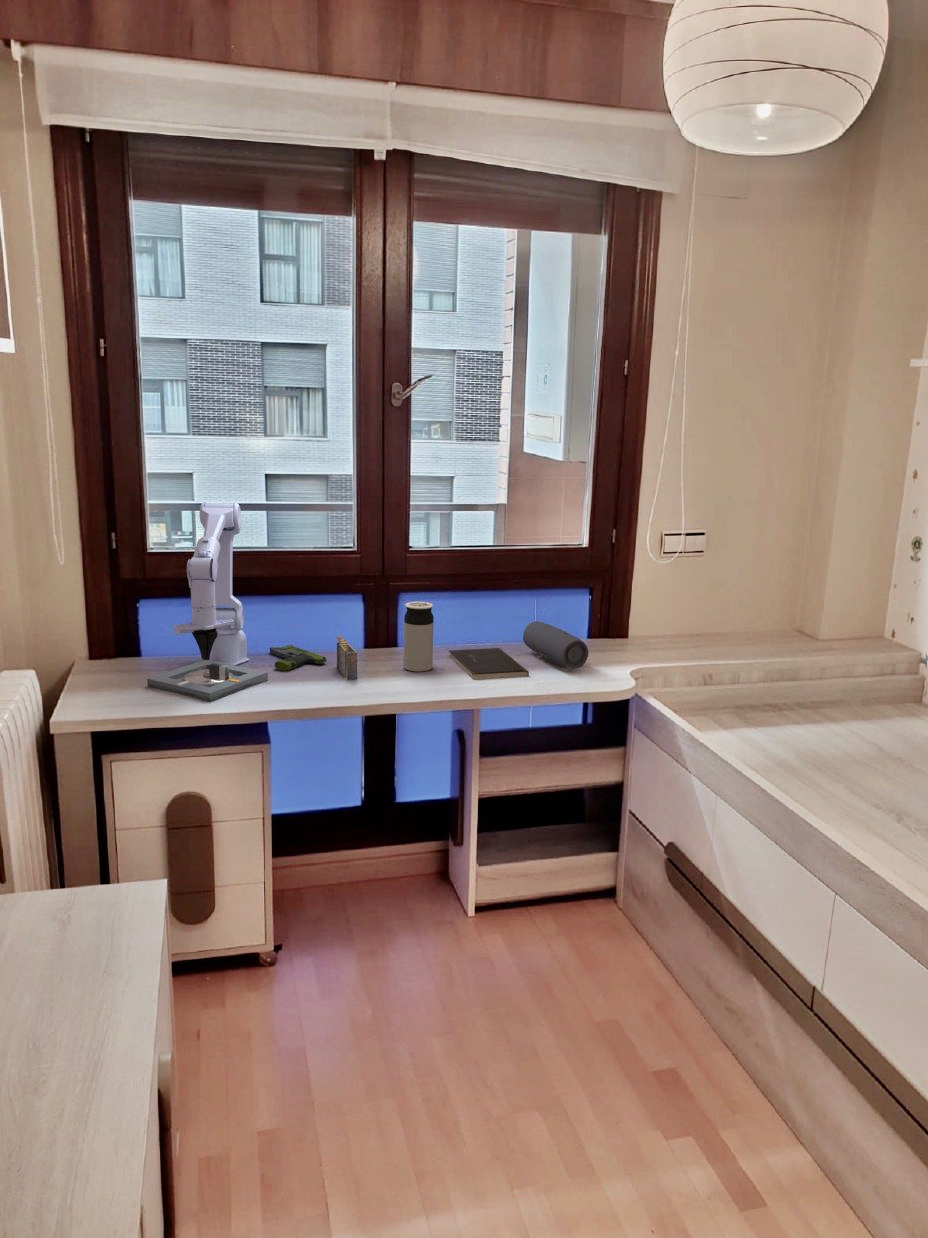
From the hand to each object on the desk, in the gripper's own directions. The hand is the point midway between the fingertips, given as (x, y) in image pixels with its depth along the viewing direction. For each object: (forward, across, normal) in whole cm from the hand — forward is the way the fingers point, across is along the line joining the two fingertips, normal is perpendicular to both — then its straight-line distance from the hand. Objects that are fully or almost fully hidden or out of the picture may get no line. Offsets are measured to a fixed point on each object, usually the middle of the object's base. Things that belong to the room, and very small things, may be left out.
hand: (205, 659), depth 235 cm
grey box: (+9, +37, -3) cm, 38 cm away
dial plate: (+8, +2, +4) cm, 9 cm away
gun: (+8, +28, +15) cm, 33 cm away
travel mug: (+8, +57, -8) cm, 58 cm away
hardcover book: (+9, +75, -14) cm, 77 cm away
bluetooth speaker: (+8, +94, -20) cm, 97 cm away
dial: (+7, +2, +5) cm, 8 cm away
